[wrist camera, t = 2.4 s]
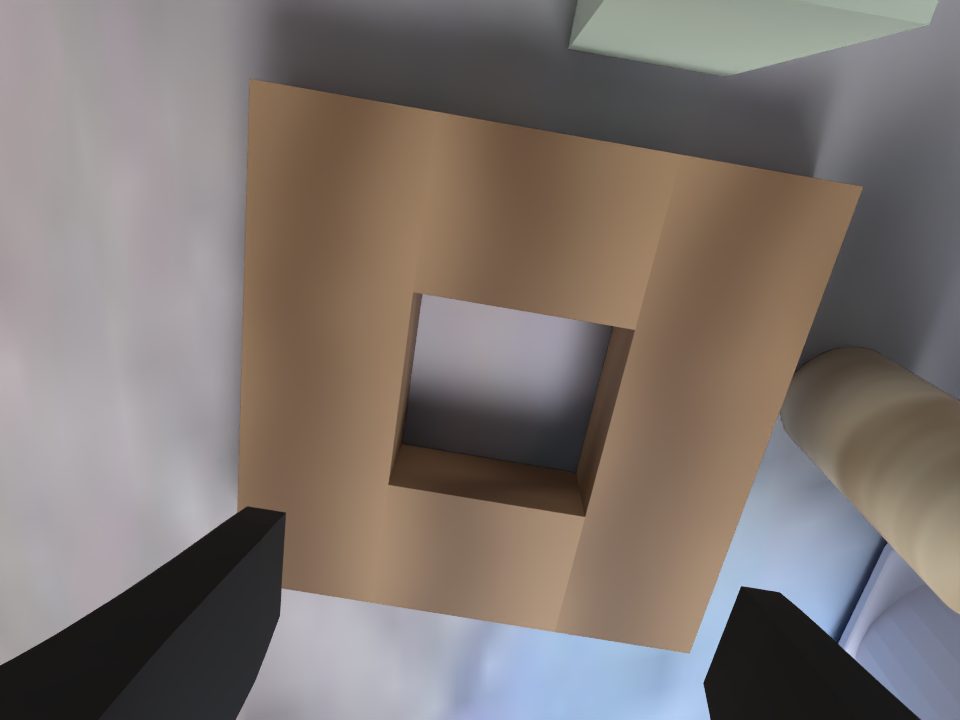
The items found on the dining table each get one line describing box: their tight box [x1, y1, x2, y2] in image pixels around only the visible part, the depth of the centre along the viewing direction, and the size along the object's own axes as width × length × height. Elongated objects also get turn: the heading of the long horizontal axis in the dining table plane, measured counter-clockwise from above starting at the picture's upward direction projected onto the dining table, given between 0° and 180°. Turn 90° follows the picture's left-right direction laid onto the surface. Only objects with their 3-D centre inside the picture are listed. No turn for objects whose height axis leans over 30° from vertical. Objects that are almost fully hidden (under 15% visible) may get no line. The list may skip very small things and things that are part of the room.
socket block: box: [237, 79, 863, 653], centre depth 17 cm, size 14×14×2 cm
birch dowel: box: [780, 347, 960, 614], centre depth 15 cm, size 4×4×7 cm
